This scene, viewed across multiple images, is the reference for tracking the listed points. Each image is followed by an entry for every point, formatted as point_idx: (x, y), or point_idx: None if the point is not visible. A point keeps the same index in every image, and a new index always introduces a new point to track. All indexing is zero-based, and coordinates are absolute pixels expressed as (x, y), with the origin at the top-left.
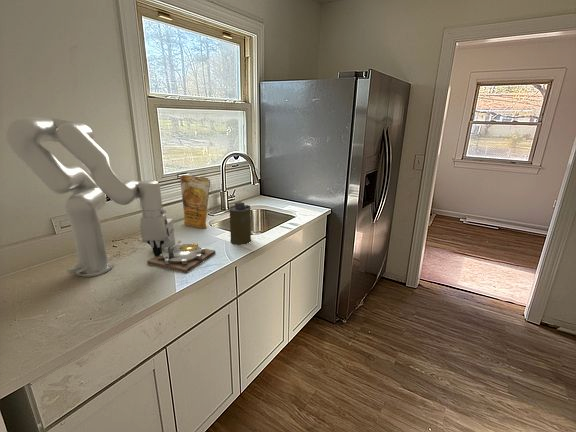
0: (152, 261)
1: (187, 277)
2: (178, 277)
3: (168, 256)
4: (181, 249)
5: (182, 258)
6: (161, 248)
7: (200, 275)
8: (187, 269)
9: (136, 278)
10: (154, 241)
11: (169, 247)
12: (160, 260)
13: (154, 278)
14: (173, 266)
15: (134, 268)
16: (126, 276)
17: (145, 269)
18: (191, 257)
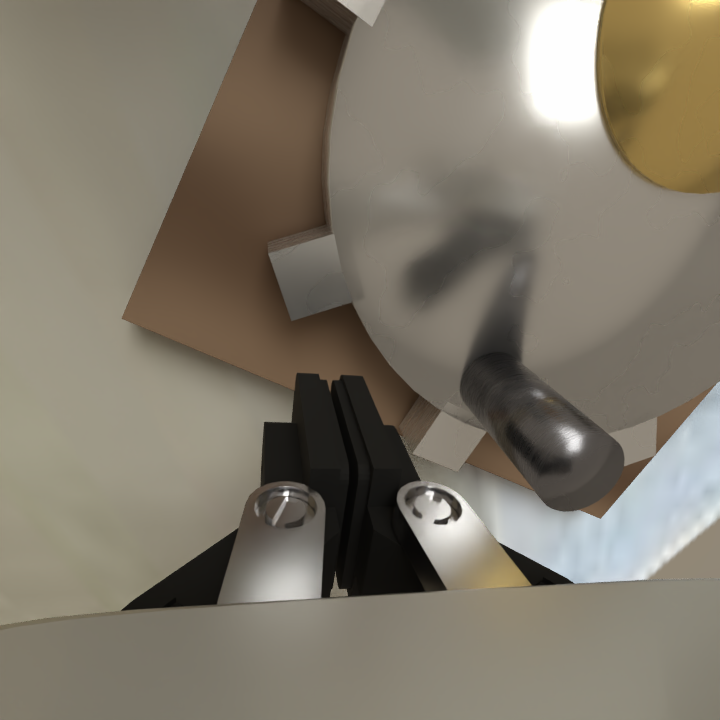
0: (216, 348)
1: (582, 548)
2: (519, 552)
3: (447, 354)
4: (635, 108)
5: (617, 413)
6: (411, 468)
7: (672, 520)
8: (608, 499)
9: None
10: (293, 593)
11: (563, 469)
12: (318, 323)
13: (335, 576)
14: (491, 466)
15: (24, 414)
16: (46, 566)
17: (179, 436)
18: (712, 384)
